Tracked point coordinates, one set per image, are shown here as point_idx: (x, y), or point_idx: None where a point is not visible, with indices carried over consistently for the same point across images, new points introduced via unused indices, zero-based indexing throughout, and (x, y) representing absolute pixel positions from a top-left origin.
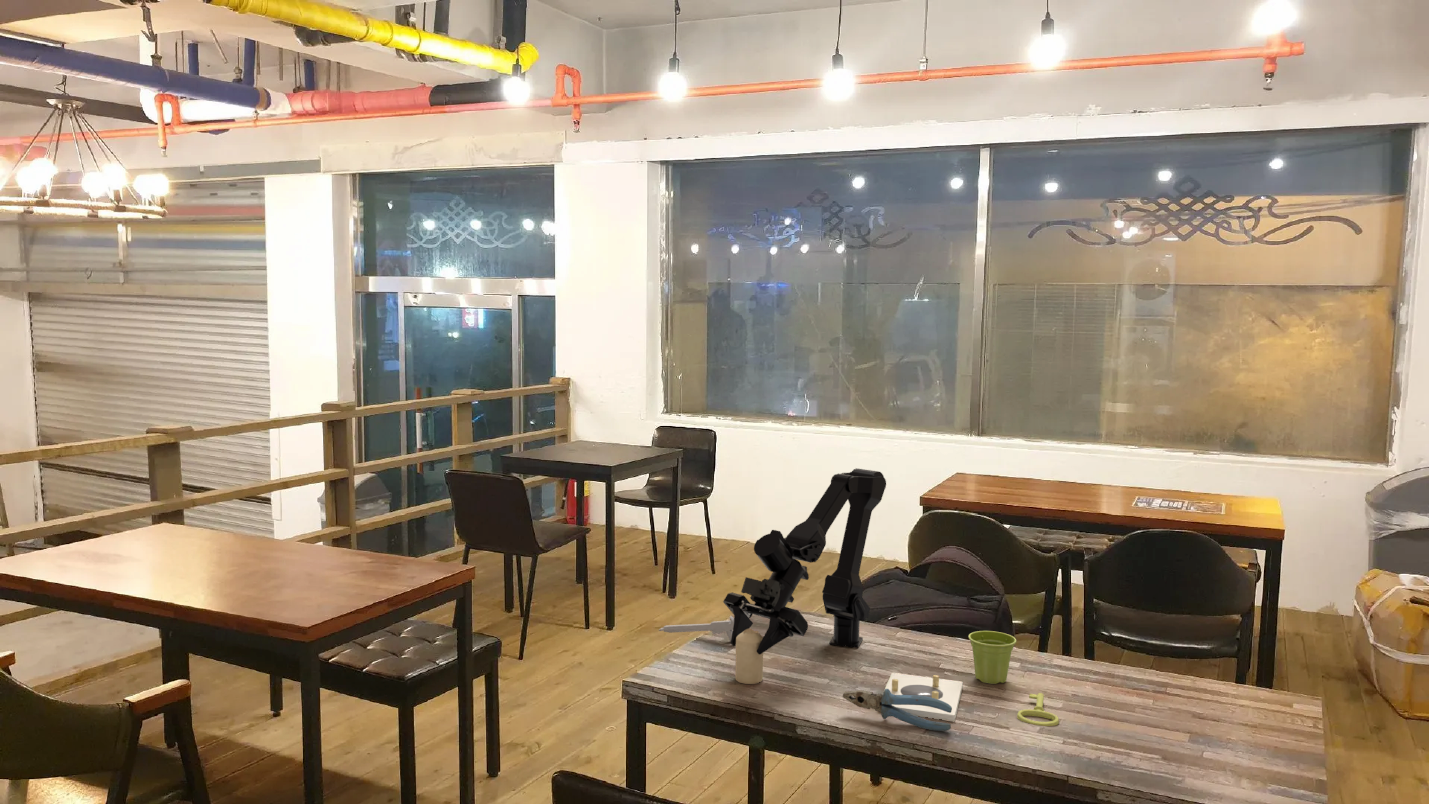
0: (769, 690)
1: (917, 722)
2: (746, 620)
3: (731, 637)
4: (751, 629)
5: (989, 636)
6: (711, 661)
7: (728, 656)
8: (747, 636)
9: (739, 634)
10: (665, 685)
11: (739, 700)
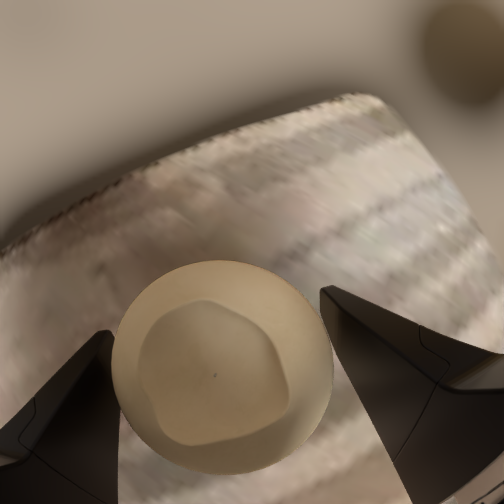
0: None
1: None
2: (436, 469)
3: (357, 296)
4: (258, 427)
5: None
6: None
7: None
8: (159, 301)
9: (283, 305)
10: (322, 120)
11: (109, 217)
